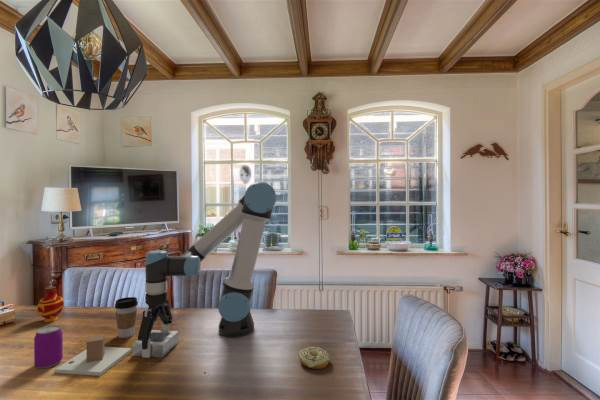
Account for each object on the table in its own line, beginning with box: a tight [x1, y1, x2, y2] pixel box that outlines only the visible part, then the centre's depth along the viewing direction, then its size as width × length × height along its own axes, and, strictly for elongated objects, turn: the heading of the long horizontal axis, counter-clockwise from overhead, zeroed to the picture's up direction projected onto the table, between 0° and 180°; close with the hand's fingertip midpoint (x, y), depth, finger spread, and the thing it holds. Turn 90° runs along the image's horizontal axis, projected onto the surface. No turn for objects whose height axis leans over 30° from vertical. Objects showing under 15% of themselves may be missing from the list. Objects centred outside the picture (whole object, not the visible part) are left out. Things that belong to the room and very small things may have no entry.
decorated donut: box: [298, 346, 331, 370], centre depth 111 cm, size 10×11×4 cm
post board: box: [54, 334, 133, 377], centre depth 110 cm, size 16×16×8 cm
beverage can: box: [33, 324, 64, 369], centre depth 109 cm, size 8×8×12 cm
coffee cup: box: [114, 296, 138, 339], centre depth 131 cm, size 8×8×15 cm
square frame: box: [132, 329, 179, 358], centre depth 120 cm, size 12×12×4 cm
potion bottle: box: [36, 285, 65, 323], centre depth 147 cm, size 10×10×15 cm
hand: (156, 348), depth 120 cm, fingers open, 12 cm apart
